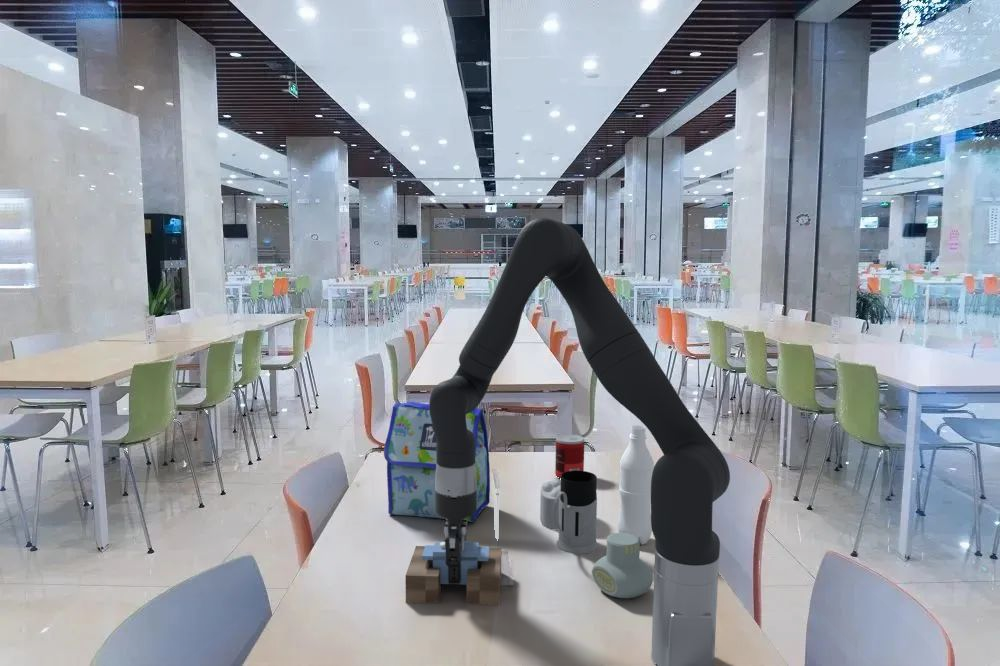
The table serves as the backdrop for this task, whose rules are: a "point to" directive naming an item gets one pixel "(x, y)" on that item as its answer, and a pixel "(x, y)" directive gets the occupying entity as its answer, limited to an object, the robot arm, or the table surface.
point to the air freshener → (622, 568)
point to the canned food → (569, 454)
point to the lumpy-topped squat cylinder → (549, 503)
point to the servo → (468, 556)
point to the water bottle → (636, 487)
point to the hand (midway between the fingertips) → (455, 576)
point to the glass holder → (577, 512)
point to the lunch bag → (426, 460)
